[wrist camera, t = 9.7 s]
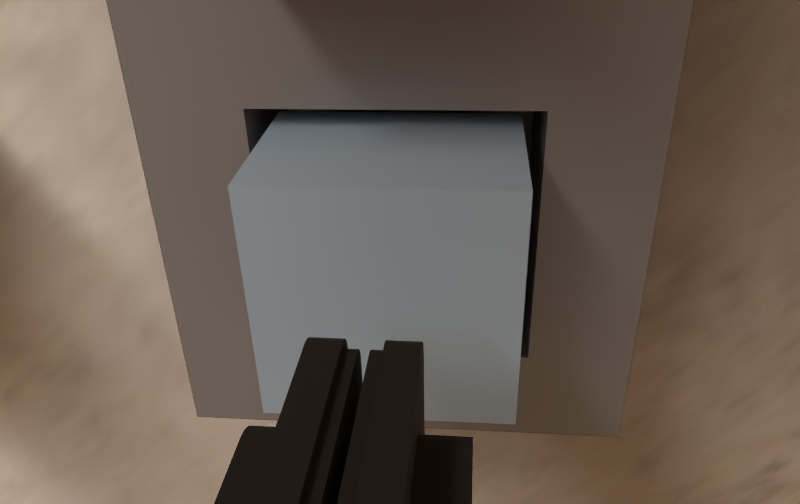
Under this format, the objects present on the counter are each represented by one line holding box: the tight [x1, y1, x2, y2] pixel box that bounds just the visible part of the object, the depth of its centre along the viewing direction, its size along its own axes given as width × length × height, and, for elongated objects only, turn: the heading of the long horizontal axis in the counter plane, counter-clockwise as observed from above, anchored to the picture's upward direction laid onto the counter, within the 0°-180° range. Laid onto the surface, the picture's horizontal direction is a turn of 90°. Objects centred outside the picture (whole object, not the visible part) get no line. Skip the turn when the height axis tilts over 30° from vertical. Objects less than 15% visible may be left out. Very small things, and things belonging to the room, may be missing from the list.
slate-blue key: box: [228, 111, 533, 425], centre depth 14 cm, size 5×5×4 cm
